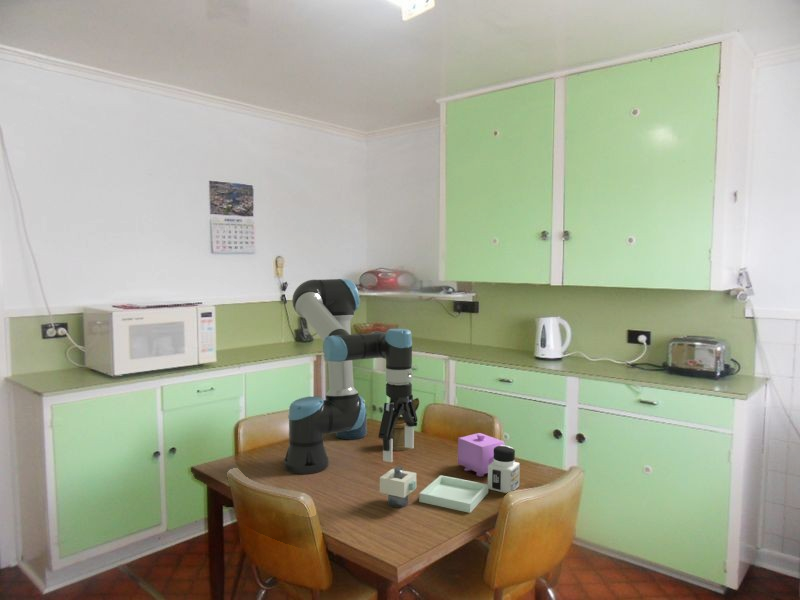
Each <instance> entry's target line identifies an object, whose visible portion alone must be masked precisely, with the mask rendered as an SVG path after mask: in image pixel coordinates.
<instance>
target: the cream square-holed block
mask: <svg viewBox="0 0 800 600" xmlns="http://www.w3.org/2000/svg"><path fill="white" fill-rule="evenodd" d="M394 469H395V468H391V469H390V470H389V471H387V472H385V473H384V474H383V475H381V476H380V477H379V493H380V494H384V495H388V494H389V495H393V496H398V497H403V498H405V497H406V496H407V495H408V496H409V495H410V494H411V493H412V492H414V491H415V490H416V489H417V472H413V471H408V470H403V469H401V470H402V479H398V478H395V472H394Z"/></svg>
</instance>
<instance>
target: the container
mask: <svg viewBox="0 0 800 600" xmlns="http://www.w3.org/2000/svg"><path fill="white" fill-rule="evenodd" d="M515 458H516V450H515V449H514V448H513V447H512V446H509V445H505V444H504V445H501V446H497V447H495V448H494V461H493V462H492V463H491V464H489V465H488V473H487V484H488V490H491V491H496V492H499V493H504V494H507V492H509V491H512V490H514V491H515V490H516V489H518V487H519V486H520V473H521V472H520V468H521V467H520V465H521V464H520V463H521V462H517V461H515V460H516V459H515Z"/></svg>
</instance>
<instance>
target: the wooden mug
mask: <svg viewBox="0 0 800 600" xmlns="http://www.w3.org/2000/svg"><path fill="white" fill-rule="evenodd" d="M413 403H414V407H415V411H416V412H417V411H418V408H419V405H420V399H419V398H418V397H416V398H413ZM405 426H408V425H406V423H405V421H404V419H403V417H402V416H400V417H399V418H398V419H397V421H396V424H395V427H394V430H393V433H392V436H391V439H393V451H397V452H401V451H406V450H409V449H410V448H406V447H405Z"/></svg>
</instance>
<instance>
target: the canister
mask: <svg viewBox="0 0 800 600" xmlns="http://www.w3.org/2000/svg"><path fill="white" fill-rule="evenodd" d="M363 400H364V403H366V400H365V398H363ZM365 408H366V409H367V408H368V406H367V404H365ZM367 418H368V414H367V411H366V412H365V419H364V422H363V423H362V425H361V426H360V427H359V428H358V429H354V430H350V431H342V432H335V437H337V438H338V439H342V440H359V439H363V438H365V437H366V436H367V433H368V425H367V423H368V421H367V420H368V419H367Z"/></svg>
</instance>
